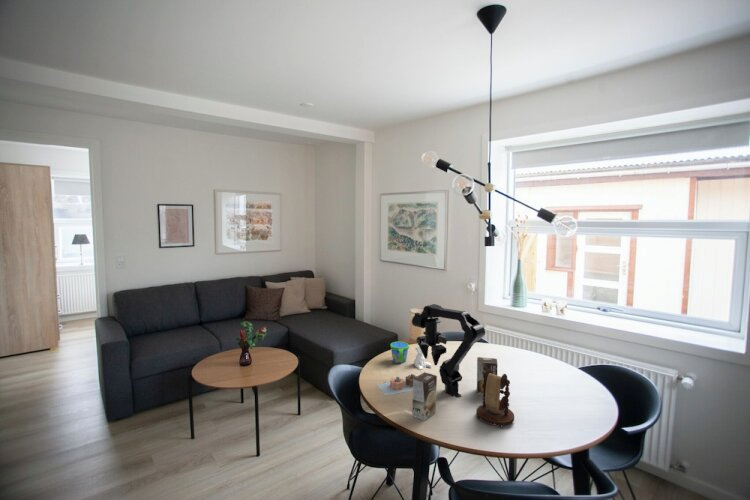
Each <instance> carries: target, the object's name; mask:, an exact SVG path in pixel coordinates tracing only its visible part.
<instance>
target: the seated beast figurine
mask: <svg viewBox="0 0 750 500" xmlns="http://www.w3.org/2000/svg"><path fill="white" fill-rule="evenodd" d="M414 349H415V351H416V355H415V358H414V360H413V364H414V366H415V367H416V368H417V369H418V371H422V370H423V368H427V369H431V368H432V367H433V366H432V363H430V362H427V361H425V360H426V359H425V358H424V355H423V353H422V351H421V349H420V347H419V345H417V347H414Z"/></svg>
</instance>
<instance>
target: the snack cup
mask: <svg viewBox="0 0 750 500" xmlns="http://www.w3.org/2000/svg"><path fill="white" fill-rule="evenodd" d="M409 349H410V345H409V343H407V342H405V341H393V342H391V343H390V350H391V357H392V361H393V363H394V364H397V365H398V364H399V365H401V364H404V363H406V362H407V358H408V352H409V351H408V350H409Z"/></svg>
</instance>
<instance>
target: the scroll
mask: <svg viewBox="0 0 750 500" xmlns="http://www.w3.org/2000/svg"><path fill="white" fill-rule="evenodd" d="M483 376H484V377H483V378H484V381H483V382H484V383H483V385H482V387H483V389H484V391H483V393H484V394H483V396H482V404H480V405H479V406H477V407H476V416H477V419H478V420H480V421H482V422H484V423H487V424H489V425H493V426H498V427H499V429H502V428H503V426H508V425H510V424H513V422H514V421H515V414H514V412H513V411H512V410H511V409H510V403H509V401H510V400H509V397H510V395H511V392H510V384H511V382H510V380H509V379H508V375H507V374H506V373H503V374H502V376H499V375H498V374H497V375H494V374H492V370H491V369H488V370H487V371H486V372H485V373H483ZM504 389H505V390H504ZM501 394H503V396H502V397H501ZM500 398H501V399H500Z"/></svg>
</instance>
